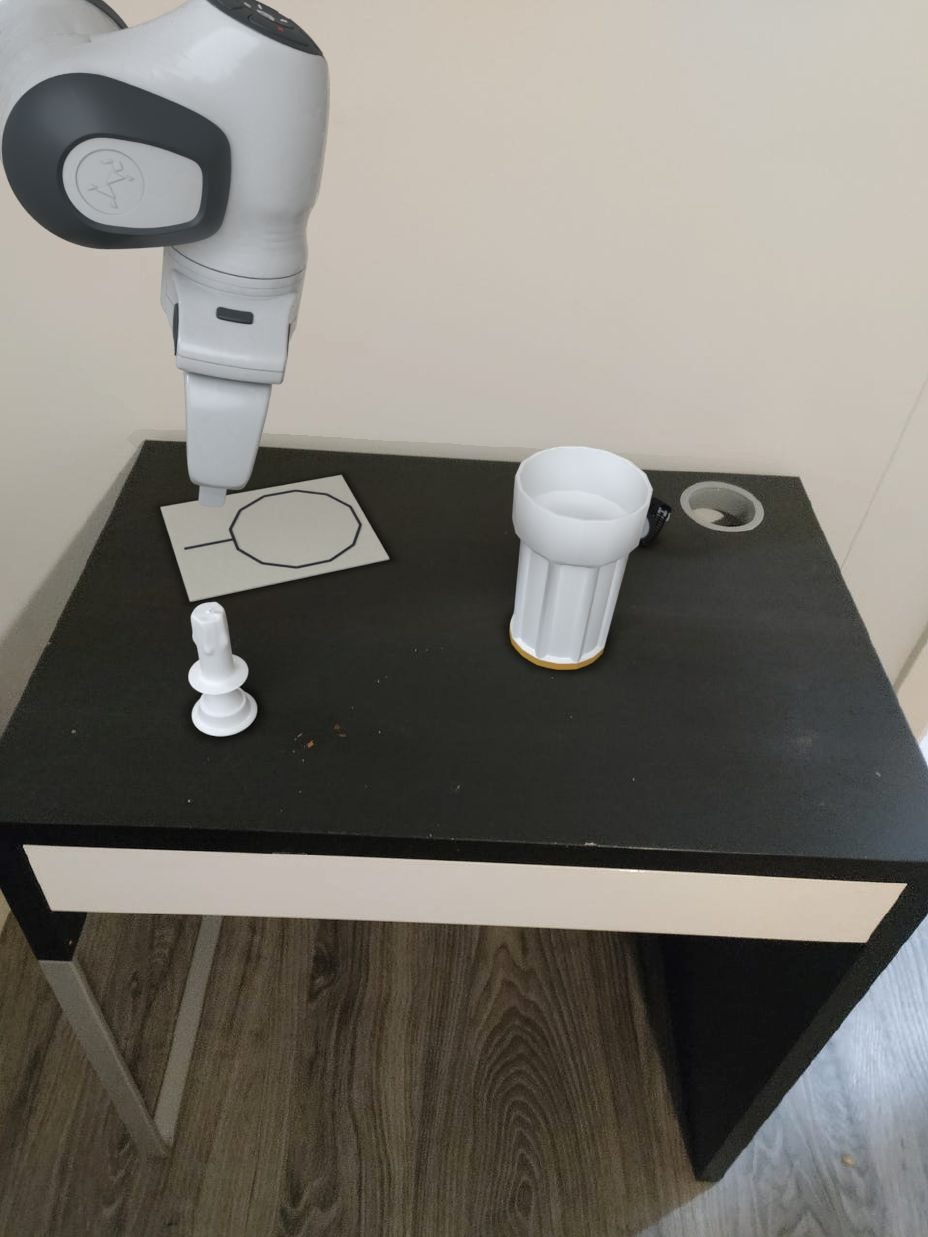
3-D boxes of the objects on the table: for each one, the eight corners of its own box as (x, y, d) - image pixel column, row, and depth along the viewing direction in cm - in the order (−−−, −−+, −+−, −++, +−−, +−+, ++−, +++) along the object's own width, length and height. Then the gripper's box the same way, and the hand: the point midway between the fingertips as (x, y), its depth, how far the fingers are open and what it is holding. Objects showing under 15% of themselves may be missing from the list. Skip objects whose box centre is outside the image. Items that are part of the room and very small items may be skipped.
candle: (269, 702, 79) (257, 596, 71) (233, 746, 75) (216, 638, 67) (216, 682, 81) (199, 575, 73) (178, 723, 77) (155, 615, 69)
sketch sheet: (190, 602, 88) (189, 599, 88) (160, 508, 99) (160, 506, 98) (389, 559, 95) (389, 557, 94) (341, 476, 105) (341, 473, 105)
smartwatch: (616, 534, 100) (624, 496, 97) (658, 526, 102) (667, 488, 98) (634, 557, 97) (643, 518, 94) (677, 549, 99) (687, 510, 95)
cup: (615, 603, 92) (649, 451, 80) (619, 685, 83) (658, 529, 72) (500, 591, 92) (518, 438, 80) (493, 672, 83) (511, 514, 72)
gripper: (186, 213, 67) (173, 381, 76) (176, 360, 53) (161, 544, 62) (275, 231, 69) (252, 392, 78) (288, 377, 55) (257, 554, 64)
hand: (211, 461), depth 70 cm, fingers open, 8 cm apart
